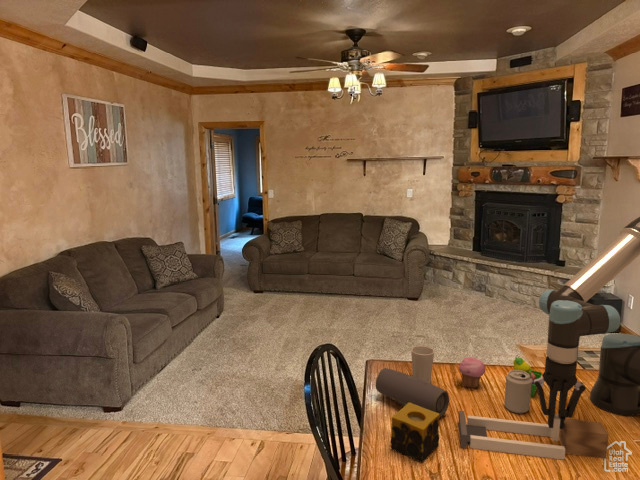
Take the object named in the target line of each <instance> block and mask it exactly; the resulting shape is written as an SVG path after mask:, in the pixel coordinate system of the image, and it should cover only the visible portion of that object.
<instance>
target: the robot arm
mask: <svg viewBox="0 0 640 480" xmlns="http://www.w3.org/2000/svg"><path fill="white" fill-rule="evenodd" d="M639 256H640V216H638V217H637V218H635V219H634V220H632V221H631V222H629V223H628V224H626V225H625V226H624V227H623V228H622V229H621V230H620V231H619V236H618V237H617V238H616V239H615V240H614V241H612V243H610V244H609V245H608V246H607V247H605V249H603V250H602V251H600V253H599V254H597V256H596V257H594V258H593V259H592V260H590V261H589V262H588V263H587V264H586V265H585V266H583V268H581V269H580V270H579V271H578V272H577V273H576V274H574V275H573V276H572V277H571V278H570V279H569V280H568V281H567V282H565V284H563V285H562V286H561V287H560V288H559V289H558V290H555V289H548V290H545V291H543V292H542V293H541V294H540V296H539V299H538V307H539V308H540V310H541V311H542V312H543V313H545V314H546V315H548V327H547V328H548V329H547V343H546V344H547V345H546V353H545V354H546V356H545V365H544V372H543V373H542V376H541V378H539V379H537V378H534V379H533V381H534V383H535V385H536V387H537V388H536V390H537V394H538V399H539V404H540V409H541V412H542V414H543V415H544V416H547V424H548V426H549V428H551V433H550V436H551V437H550V438H551V441H554V442H559V441H560V430H561V429H563V428H564V420H566V419H572V418H573V415H574V413H575V411H576V408H577V406H578V403H579V400H580V398H581V395H582V394H583V393H584V392H585V391H586V389H587V387H586V386H585V384H584V382H580V381H578V378H577V368H578V367H577V366H578V362H577V361H578V356H579V345H580V337H586V336H593V335H605V336H603V337H602V340H601V341H602V342H601V346H600V353H599V365H598V366H599V367H598V377H597V379H596V380H595V382H594V385H593V386H592V388H591V390H590V392H589V393H590V395H589V399H590V402H591V403H592V404H594V405H595V406H596V407H597V408H599V409H601V410H603V411H606V412H609V413H612V414H615V415H620V416H627V417H629V416H630V417H634V416H640V336H639V335H636V334H629V333H613V332H616V331H618V329H619V328H620V326H621V316H620V312H619V311H618V310H617V309H616V308H615V307H614V306H612V305H608V304H599V305H596V304H592V303H589V302H588V301H589V300H590V299H591V298H592V297H593V296H595V295H596V294H597V293H598V292H599V291H600V290H601V289H603V287H605V286H606V285H607V284H608V283H610V282H611V281H612V280H613V279H614V278H615V277H616V276H618V275H619V274H620V273H621V272H622V271H624V270H625V268H627V267H628V266H629V265H630V264H631V263H633V261H635V260H636V258H638V257H639ZM608 333H609V334H608ZM606 334H607V335H606ZM545 384H546V385H547V387H548V389H549V395H548V408H547V402H546V396H545V392H544V389H543V388H544V386H545ZM572 388H573V390H572V392H571V395H570V398H569V400H568V403H567V399H568V394H569V391H570V390H571V389H572ZM558 392H559V397H558V408H557V409H558V411H557V413H558V414H556V407H557V406H556V405H557V396H558Z"/></svg>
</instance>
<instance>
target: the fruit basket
mask: <svg viewBox="0 0 640 480" xmlns="http://www.w3.org/2000/svg"><path fill="white" fill-rule="evenodd" d="M513 370H521V371H524V372H527V373H528V374H529V375H530V378H531V380H532V384H531V397H530V398H534V396H535V394H536V391H537V387H536V385H535V383H534V381H533V379H534V378H537V379H539V378H541V377H542V375H543V373H542V372H541V371H537V370H532V367H531V365H530V364H529V363H528V362H527V361H526V360H524V358H522V357H520V356H519V357H517V356H516V357H515V359H514V360H513Z"/></svg>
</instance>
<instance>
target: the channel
mask: <svg viewBox="0 0 640 480" xmlns="http://www.w3.org/2000/svg"><path fill="white" fill-rule="evenodd" d="M466 420H467V422H466V425H472V426H481V427H486V431H487V430H489V431H498V432H505V433H515V434H523V435H532V436H540V437H548V438H551V436H550V433H551V428H549V426H548V423H538V422H532V421H531V422H530V421H523V420H522V421H520V420H514V419H513V420H511V419H503V418H495V417H487V416H484V417H483V416H477V415H476V416H475V415H467V419H466ZM469 448H470V449H476V450H483V451H491V452H500V453H506V454H508V453H509V454H514V455H516V454H517V455H525V456H529V457H530V456H531V457H538V458H547V459H555V460H565V457H566V453H565V447H564V446H562V445H559V444H558V445H557V444H549V443H541V442H540V443H539V442H533V441H522V440H516V439H515V440H514V439H506V438H505V439H504V438H498V437H490V436H487V437H482V436H474V435H470V445H469Z"/></svg>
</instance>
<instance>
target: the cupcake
mask: <svg viewBox="0 0 640 480" xmlns="http://www.w3.org/2000/svg"><path fill="white" fill-rule="evenodd" d="M458 370H459V371H458V372H459V373H460V374H461V377H462V385H463V387H465V388H469V389H470V388H473V389H475V388H478V387H479V385H480V380H481V377H483V375H484V374H485V373H486V366H485V363H484V362H483V361H482V360H480V359H477V358H476V357H471V356H467V357H464V358H463V360H462V361H460V363H459V366H458Z"/></svg>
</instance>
